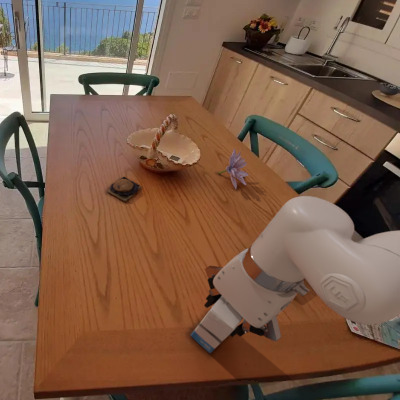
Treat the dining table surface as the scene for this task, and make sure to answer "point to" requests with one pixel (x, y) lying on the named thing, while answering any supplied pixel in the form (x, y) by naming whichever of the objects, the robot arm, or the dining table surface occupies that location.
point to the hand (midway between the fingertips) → (222, 317)
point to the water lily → (236, 168)
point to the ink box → (216, 325)
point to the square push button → (124, 189)
